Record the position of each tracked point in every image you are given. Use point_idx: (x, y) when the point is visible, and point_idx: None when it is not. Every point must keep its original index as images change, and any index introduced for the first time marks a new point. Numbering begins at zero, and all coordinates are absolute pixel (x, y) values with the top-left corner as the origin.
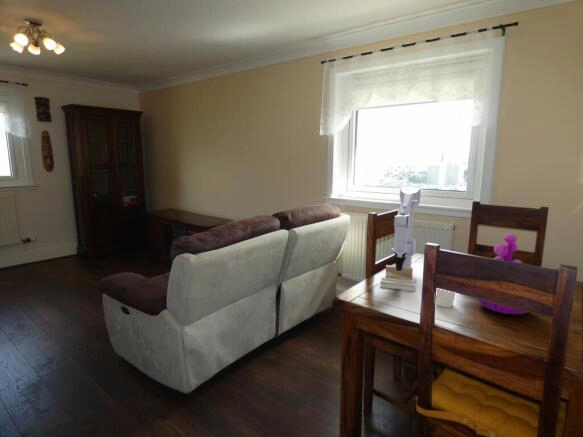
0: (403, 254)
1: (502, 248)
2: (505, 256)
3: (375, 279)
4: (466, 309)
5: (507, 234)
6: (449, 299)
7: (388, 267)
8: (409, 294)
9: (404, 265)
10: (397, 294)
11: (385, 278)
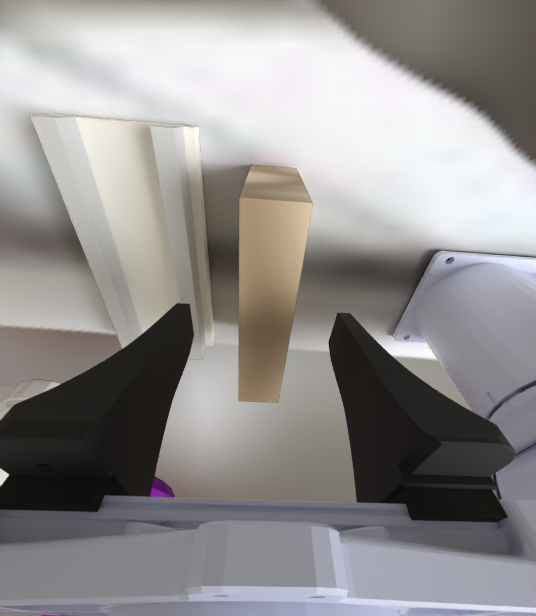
0: (362, 474)
1: None
2: None
3: (249, 47)
4: None
5: None
6: None
7: (239, 228)
8: (61, 306)
9: (445, 345)
10: (4, 247)
11: (158, 171)
